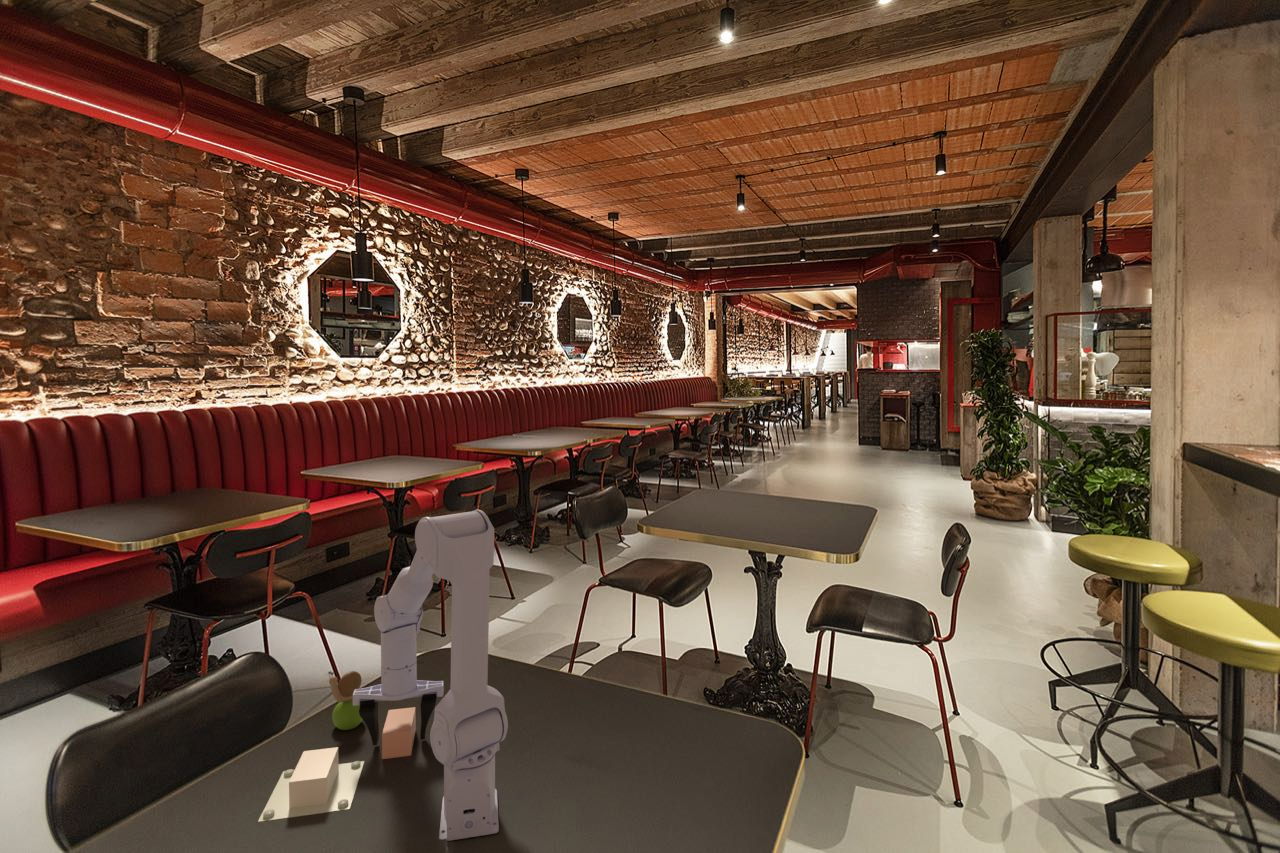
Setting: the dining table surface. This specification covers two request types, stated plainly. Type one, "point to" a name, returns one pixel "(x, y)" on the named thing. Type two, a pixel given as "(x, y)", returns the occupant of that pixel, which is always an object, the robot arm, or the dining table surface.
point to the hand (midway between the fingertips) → (399, 739)
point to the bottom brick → (313, 778)
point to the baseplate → (336, 802)
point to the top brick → (399, 733)
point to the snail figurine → (345, 700)
